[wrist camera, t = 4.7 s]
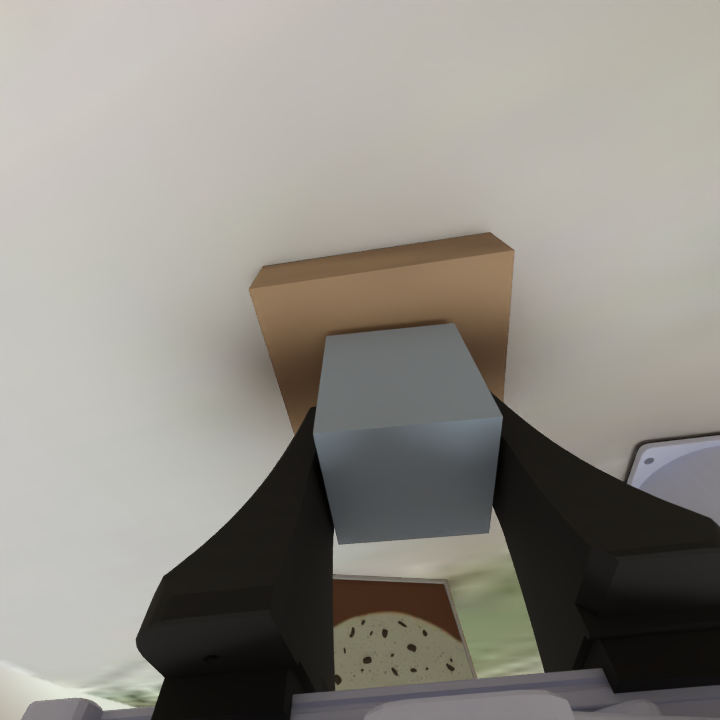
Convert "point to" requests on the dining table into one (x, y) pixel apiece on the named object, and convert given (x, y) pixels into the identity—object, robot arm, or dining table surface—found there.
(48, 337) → the dining table surface
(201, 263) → the dining table surface
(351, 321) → the base
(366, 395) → the block
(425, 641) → the food container
